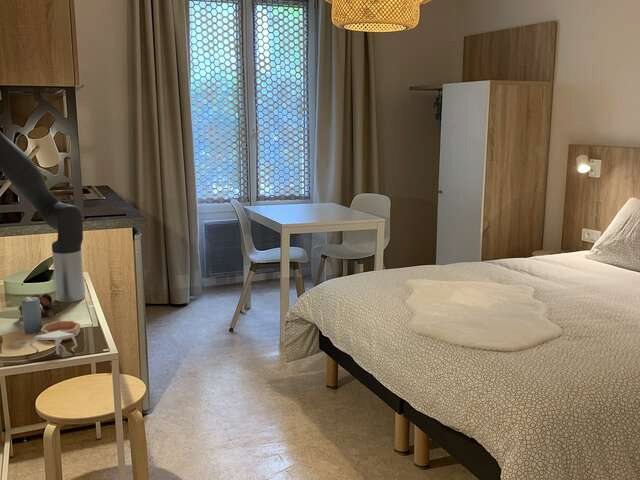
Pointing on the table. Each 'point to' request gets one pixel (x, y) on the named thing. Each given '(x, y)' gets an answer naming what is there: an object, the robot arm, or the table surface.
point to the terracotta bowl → (62, 328)
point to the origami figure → (54, 338)
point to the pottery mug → (44, 304)
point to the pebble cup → (31, 315)
